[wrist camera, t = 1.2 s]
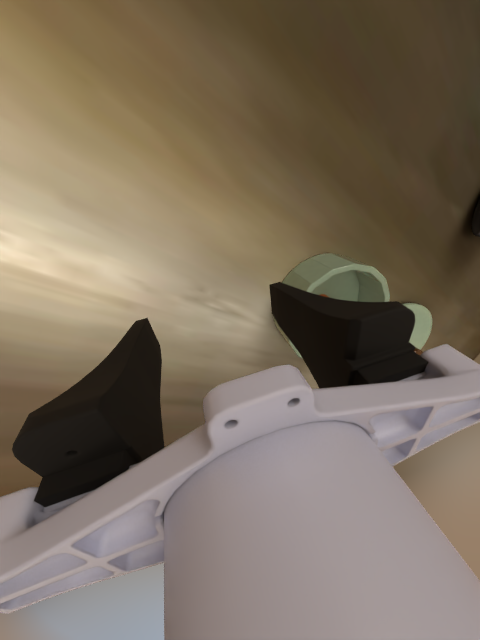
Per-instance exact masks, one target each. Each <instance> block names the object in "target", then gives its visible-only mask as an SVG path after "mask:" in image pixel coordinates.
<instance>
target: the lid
mask: <svg viewBox="0 0 480 640" xmlns="http://www.w3.org/2000/svg"><path fill="white" fill-rule="evenodd" d="M402 305H404V306H406V307H407V308H409V309H411V310H412V311H413V312H414V314H415V326H414V329H413V332H412V335H411V338H410V341H409V342H410V343H411V344H412V345H414V346H415V350H414V352H416V353H417V354H418V355H421V354H422V353H423V352H422V351H421V348H422V347H423V346H424V344H425V342H426V341H427V339H428V337H429V334H430V332H431V328H432V316H431V313H430V312H429V310H428V309H427V308H426V307H424V306H422V305H420V304H416V303H406V304H402Z"/></svg>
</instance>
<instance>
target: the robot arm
mask: <svg viewBox="0 0 480 640" xmlns="http://www.w3.org/2000/svg"><path fill="white" fill-rule="evenodd" d="M270 295H271V307H272V314H273V316H274V318H275V320H276V322H277V323H278V325H279V327H280V328H281V329H282V331H283V332H284V333H285V335H286V336H287V337H288V339H289V340H290V341H291V342H292V344H293V345H294V346H295V348H296V349H297V350H298V352H299V353H300V355H301V356H302V358H303V360H304V361H305V363H306V365H307V366H308V368H309V370H310V372H311V373H312V375H313V377H314V379H315V380H316V382H317V384H318V386H319V388H320V389H311V387H310V386H309V384H308V383H307V381H306V380H305V378H304V377H303V375H302V374H301V372H300V371H299V369H298V368H296V367H294V366H291V365H280V366H274V367H271V368H268V369H265V370H262V371H259V372H256V373H253V374H250V375H246V376H243V377H240V378H237V379H234V380H231V381H228V382H225V383H222V384H220V385H218V386H216V387H214V388H213V389H211V390H210V391H209V392H208V394H207V395H206V396H205V397H204V399H203V411H204V417H205V422H206V423H205V424H203V425H201V426H200V427H198V428H196V429H195V430H193V431H191V432H190V433H188V434H186V435H185V436H183V437H181V438H180V439H178V440H176V441H175V442H173V443H171V444H170V445H168V446H167V447H165V448H164V440H163V430H162V420H161V407H160V385H161V364H162V359H161V349H160V345H159V342H158V340H157V338H156V336H155V334H154V332H153V329H152V327H151V325H150V323H149V321H148V319H147V318H145V319H142V320H138V321H136V322H135V323H134V324H133V325H132V327H131V328H130V329H129V331H128V332H127V333H126V334H125V336H124V337H123V338H122V340H121V341H120V342H119V343H118V345H117V346H116V347H115V348H114V349H113V350H112V352H111V353H110V354H109V355H108V356H107V357H106V358H105V359H104V360H103V361H102V362H101V363H100V364H99V365H98V366H97V367H96V368H95V369H94V370H93V371H91V372H90V373H89V374H88V375H86V376H85V377H84V378H83V379H82V380H80V381H79V382H78V383H77V384H75V385H74V386H72V387H71V388H70V389H68V390H67V391H65V392H64V393H62V394H61V395H60V396H58V397H56V398H55V399H53V400H52V401H50V402H48V403H47V404H45V405H43V406H42V407H40V408H38V409H37V410H35V411H33V412H32V413H30V414H29V415H28V417H27V419H26V421H25V423H24V425H23V426H22V428H21V430H20V432H19V434H18V436H17V438H16V440H15V442H14V443H13V448H12V451H13V453H14V456H15V457H16V458H17V459H18V460H19V461H20V462H21V463H23V464H24V465H25V466H27V467H28V468H30V469H31V470H33V471H34V472H36V473H37V474H39V475H40V476H42V477H43V478H42V481H41V483H40V486H39V488H38V487H29V488H25V489H22V490H19V491H16V492H13V493H10V494H7V495H4V496H1V497H0V613H11V612H14V611H16V610H19V609H21V608H24V607H27V606H29V605H32V604H34V603H37V602H40V601H42V600H45V599H48V598H51V597H53V596H57V595H59V594H62V593H65V592H68V591H71V590H74V589H78V588H81V587H84V586H87V585H90V584H94V583H97V582H100V581H104V580H107V579H110V578H114V577H117V576H120V575H124V574H127V573H130V572H134V571H137V570H140V569H144V568H147V567H151V566H154V565H158V564H161V563H164V634H165V640H480V581H479V579H478V578H477V577H476V575H475V574H474V573H473V571H472V570H471V569H470V567H469V566H468V565H467V564H466V562H465V561H464V560H463V558H462V557H461V556H460V554H459V553H458V552H457V550H456V549H455V548H454V547H453V545H452V544H451V543H450V541H449V540H448V539H447V537H446V536H445V535H444V534H443V532H442V531H441V529H440V528H439V527H438V526H437V525H436V523H435V522H434V520H433V519H432V518H431V516H430V515H429V514H428V512H427V511H426V510H425V509H424V507H423V506H422V505H421V503H420V502H419V501H418V499H417V498H416V497H415V495H414V494H413V493H412V492H411V490H410V489H409V488H408V486H407V485H406V484H405V482H404V481H403V480H402V478H401V477H400V476H399V475H398V473H397V472H396V471H395V469H394V468H393V466H394V465H396V464H398V463H400V462H402V461H403V460H405V459H407V458H409V457H411V456H412V455H414V454H416V453H418V452H420V451H421V450H423V449H425V448H427V447H429V446H431V445H433V444H434V443H436V442H438V441H440V440H442V439H444V438H446V437H448V436H450V435H452V434H454V433H456V432H458V431H460V430H462V429H465V428H467V427H469V426H472V425H474V424H476V423H479V422H480V365H479V364H478V363H476V362H475V361H473V360H471V359H470V358H468V357H467V356H465V355H463V354H462V353H460V352H459V351H457V350H456V349H454V348H452V347H451V346H449V345H448V344H444V345H441V346H438V347H435V348H432V349H429V350H426V351H424V352H423V353H422V354H421V355H418V354H417V353H416V352H414V350H415V346H414V345H412V344H411V343H410V342H409V341H410V338H411V335H412V332H413V329H414V326H415V314H414V312H413V311H412V310H411V309H409V308H407V307H406V306H404V305H402V304H401V303H399V302H359V301H348V300H340V299H334V298H329V297H324V296H320V295H317V294H313V293H310V292H307V291H304V290H301V289H298V288H295V287H293V286H290V285H287V284H284V283H281V282H278V283H274V284H271V285H270Z"/></svg>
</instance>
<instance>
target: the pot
mask: <svg viewBox="0 0 480 640" xmlns="http://www.w3.org/2000/svg"><path fill="white" fill-rule="evenodd" d="M282 283H284V284H287V285H290V286H293V287H295V288H298V289H301V290H304V291H307V292H310V293H313V294H317V295H321V294H325V295H327V296H328V297H330V298H334V299H340V300H348V301H359V302H389V298H390V293H389V289H388V285H387V281H386V278H385V277H384V276H383V275H382V274H381V273H380V272H378V271H377V270H376V269H375V268H374V267H373V266H370V265H367V264H365V263H362V262H360V261H357V260H355V259H352V258H350V257H347V256H342V255H339V254H332V253H328V254H321V255H317V256H314V257H311V258H309V259H307V260H305V261H303V262H302V263H300V264H299V265H298V266H296V267H295V268H294V269H293V270H292V271H291V272H290V273H289V274H288V275H287V276H286V277H285V279H284V280H283V282H282ZM273 317H274V316H273ZM274 322H275V325H276V327H277V329H278V330H279V331H280V333H281V334H282V336H283V337H284V339H285V340H286V341H287V343H288V344H289V345H290V347H291V348H292V349H293V351H294V352H295V353H296V355H297V356H298V357H300V358H302V356H301V355H300V353H299V352H298V350H297V349H296V348H295V346H294V345H293V344H292V342H291V341H290V340H289V339H288V337H287V336H286V335H285V333H284V332H283V331H282V329H281V328H280V327H279V325H278V323H277V322H276V320H275V318H274ZM302 359H303V358H302Z"/></svg>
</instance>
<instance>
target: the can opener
mask: <svg viewBox="0 0 480 640" xmlns="http://www.w3.org/2000/svg"><path fill="white" fill-rule="evenodd" d="M472 232H473V234H474V235H475V236H478V237H480V199H479V201H478V204H477V206H476V209H475V212H474V216H473V220H472Z"/></svg>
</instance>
